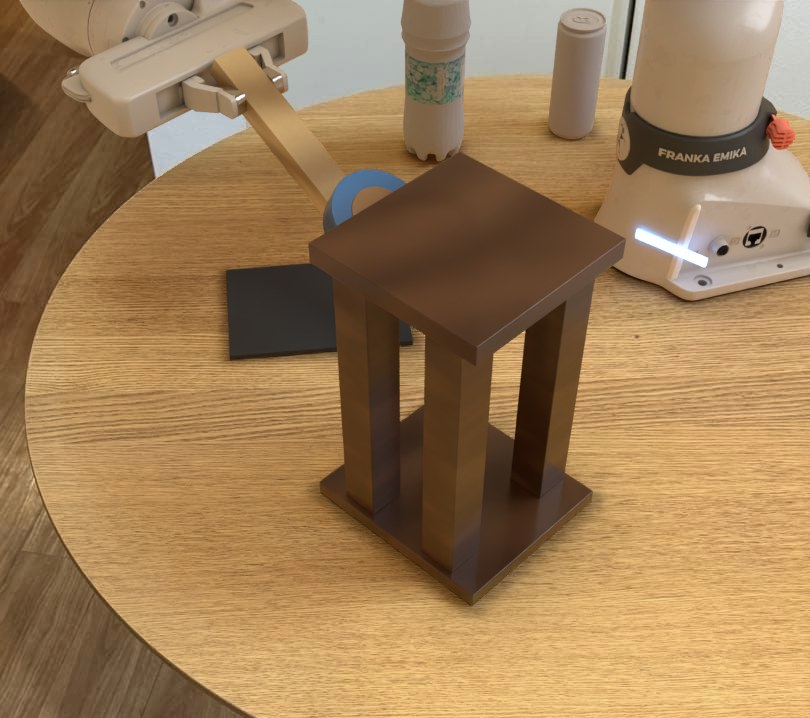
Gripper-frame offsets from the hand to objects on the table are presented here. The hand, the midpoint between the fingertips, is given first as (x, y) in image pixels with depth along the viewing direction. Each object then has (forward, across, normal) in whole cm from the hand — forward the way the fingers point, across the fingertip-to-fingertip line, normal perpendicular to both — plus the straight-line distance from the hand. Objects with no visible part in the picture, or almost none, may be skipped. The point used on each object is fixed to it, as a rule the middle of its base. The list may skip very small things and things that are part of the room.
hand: (261, 96), depth 92 cm
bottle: (-5, +26, +19) cm, 33 cm away
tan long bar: (+5, 0, +5) cm, 7 cm away
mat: (+5, 0, +19) cm, 19 cm away
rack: (+29, -8, +19) cm, 35 cm away
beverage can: (+3, +39, +19) cm, 44 cm away
